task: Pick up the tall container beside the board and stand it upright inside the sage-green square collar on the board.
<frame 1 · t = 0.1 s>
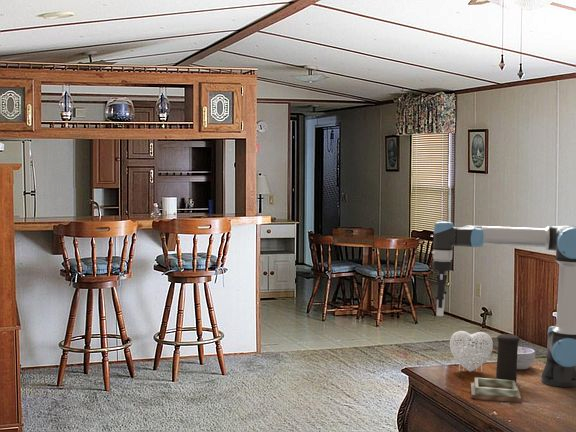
hand: (440, 313, 344), 28 cm above the table, fingers open, 13 cm apart
paper bowls: (516, 367, 374), on the table
stand board: (495, 394, 329), on the table
decorative heart: (470, 371, 364), on the table
container: (506, 384, 345), on the table
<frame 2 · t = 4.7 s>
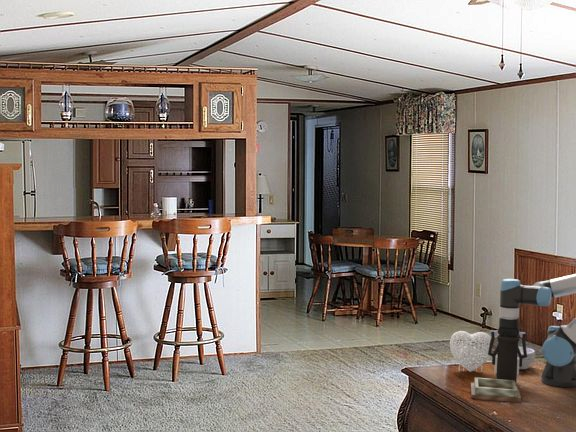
hand: (506, 373, 345), 4 cm above the table, fingers closed on container, 8 cm apart
container: (506, 384, 345), on the table, touching gripper
everything else where it was.
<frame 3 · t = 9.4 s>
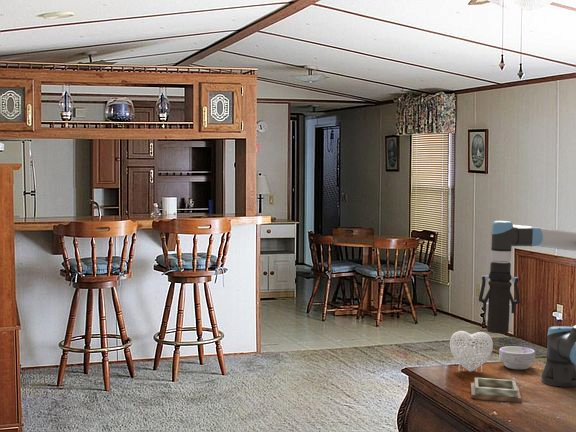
hand: (498, 320, 327), 28 cm above the table, fingers closed on container, 8 cm apart
container: (497, 332, 328), point 24 cm above the table, touching gripper
everything else where it was.
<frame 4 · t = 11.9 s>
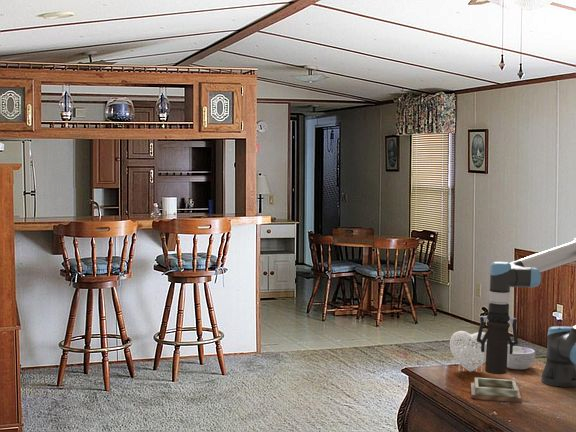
hand: (496, 361, 328), 13 cm above the table, fingers closed on container, 8 cm apart
container: (495, 372, 329), point 8 cm above the table, touching gripper
everything else where it was.
when the fingers open (7 cm above the table, at t = 14.1 s): container stays where it is, resting on stand board.
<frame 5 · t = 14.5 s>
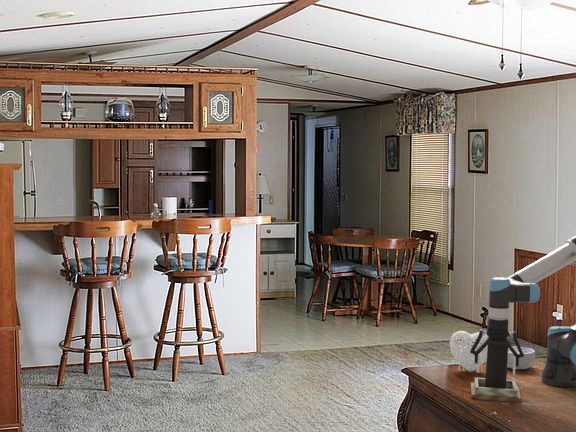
hand: (495, 373, 329), 8 cm above the table, fingers open, 13 cm apart
container: (495, 390, 329), point 1 cm above the table, touching stand board
everything else where it was.
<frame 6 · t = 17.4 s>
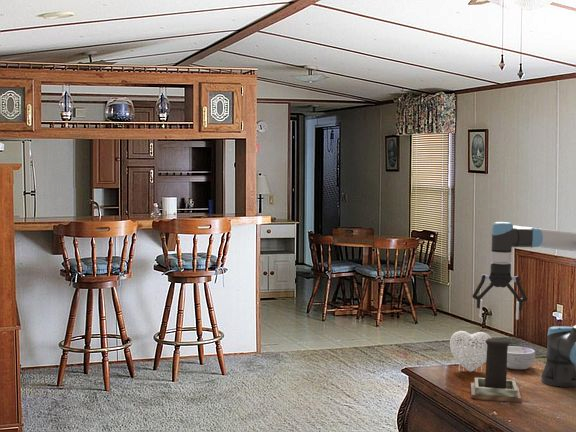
hand: (498, 318, 327), 30 cm above the table, fingers open, 13 cm apart
nothing on the table moved.
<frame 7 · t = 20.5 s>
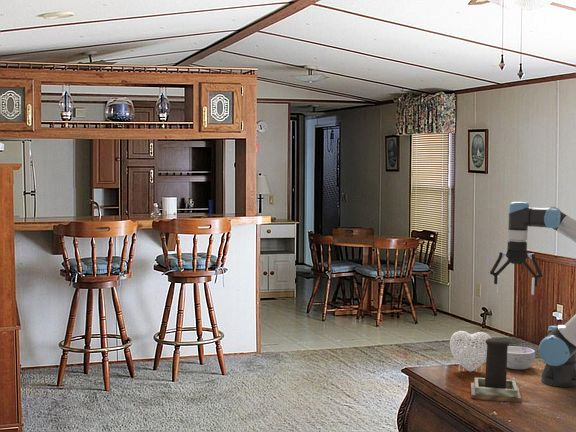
hand: (515, 293, 343), 37 cm above the table, fingers open, 13 cm apart
nothing on the table moved.
at the end: container 0.1 cm off-centre on the stand board, point 1.3 cm above the stand board's base; container tilted 0°; the gripper is holding nothing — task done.
